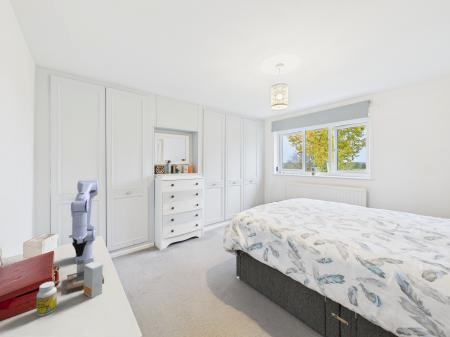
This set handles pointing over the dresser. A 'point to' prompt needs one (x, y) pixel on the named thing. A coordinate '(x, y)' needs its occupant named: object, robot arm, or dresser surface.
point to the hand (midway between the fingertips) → (79, 253)
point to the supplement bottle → (46, 299)
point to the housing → (82, 268)
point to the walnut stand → (75, 283)
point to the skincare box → (93, 279)
